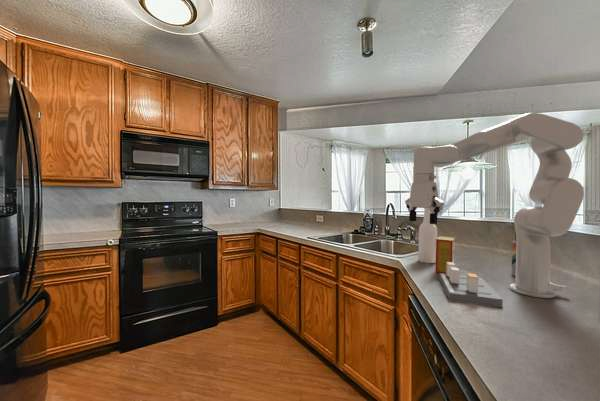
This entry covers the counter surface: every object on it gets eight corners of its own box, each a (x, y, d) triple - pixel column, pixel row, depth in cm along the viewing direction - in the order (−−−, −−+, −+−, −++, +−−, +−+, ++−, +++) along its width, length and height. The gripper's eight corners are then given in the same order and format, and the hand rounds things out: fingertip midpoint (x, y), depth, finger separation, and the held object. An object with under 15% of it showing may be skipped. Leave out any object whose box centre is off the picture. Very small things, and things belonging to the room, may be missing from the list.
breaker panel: (480, 283, 107) (481, 277, 107) (502, 307, 84) (502, 299, 84) (439, 278, 112) (439, 272, 112) (449, 300, 90) (449, 292, 90)
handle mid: (457, 280, 101) (457, 267, 101) (459, 283, 97) (459, 270, 97) (449, 279, 102) (449, 266, 102) (451, 283, 98) (451, 269, 98)
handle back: (453, 274, 109) (453, 262, 108) (455, 277, 105) (455, 265, 105) (446, 273, 109) (446, 261, 109) (447, 276, 106) (448, 264, 106)
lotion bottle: (521, 274, 119) (523, 230, 119) (531, 278, 114) (532, 232, 113) (508, 273, 120) (509, 230, 120) (517, 277, 114) (518, 232, 114)
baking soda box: (451, 275, 117) (452, 239, 117) (435, 272, 121) (436, 238, 121) (454, 270, 125) (455, 237, 124) (439, 268, 129) (439, 235, 128)
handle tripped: (474, 288, 92) (475, 273, 92) (477, 293, 88) (478, 277, 88) (466, 288, 93) (466, 273, 93) (469, 291, 89) (469, 276, 89)
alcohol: (433, 260, 144) (434, 205, 144) (438, 264, 136) (440, 206, 135) (416, 259, 146) (417, 205, 145) (420, 263, 137) (421, 205, 137)
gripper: (450, 178, 97) (449, 224, 97) (413, 180, 113) (412, 220, 113) (436, 177, 94) (435, 225, 94) (399, 179, 110) (398, 220, 110)
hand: (422, 222), depth 104 cm, fingers open, 9 cm apart
